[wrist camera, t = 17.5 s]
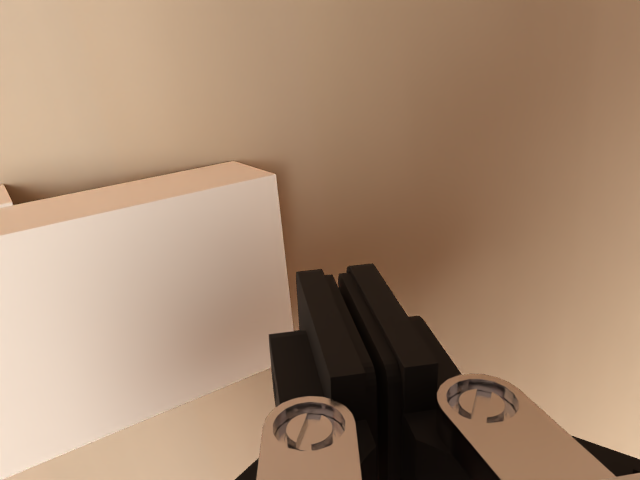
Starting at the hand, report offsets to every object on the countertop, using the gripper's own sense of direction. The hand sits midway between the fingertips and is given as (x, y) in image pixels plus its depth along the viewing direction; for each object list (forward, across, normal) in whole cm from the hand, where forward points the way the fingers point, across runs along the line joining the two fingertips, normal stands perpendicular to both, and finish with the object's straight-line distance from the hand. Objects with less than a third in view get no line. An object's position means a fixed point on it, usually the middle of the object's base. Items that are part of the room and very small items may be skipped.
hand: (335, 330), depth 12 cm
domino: (+4, +1, 0) cm, 4 cm away
